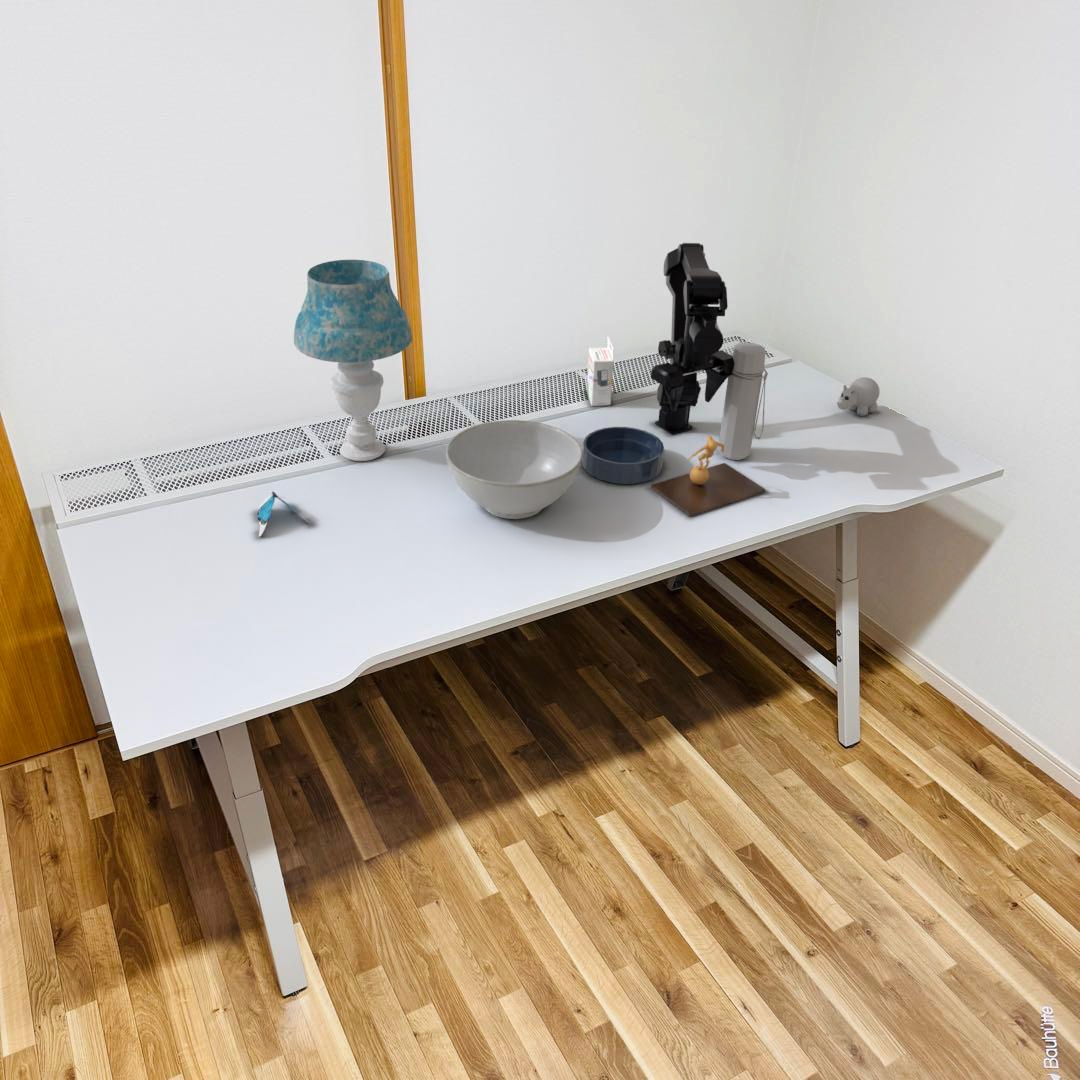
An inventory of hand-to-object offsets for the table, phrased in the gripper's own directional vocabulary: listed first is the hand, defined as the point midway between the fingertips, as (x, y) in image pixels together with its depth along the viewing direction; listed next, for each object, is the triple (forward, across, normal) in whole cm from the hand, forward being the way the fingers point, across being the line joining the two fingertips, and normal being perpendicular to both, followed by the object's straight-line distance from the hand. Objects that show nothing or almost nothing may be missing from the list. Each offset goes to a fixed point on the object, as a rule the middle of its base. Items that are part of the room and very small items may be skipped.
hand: (690, 405), depth 209 cm
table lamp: (+13, +60, -37) cm, 72 cm away
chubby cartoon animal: (+13, -51, +1) cm, 53 cm away
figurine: (+12, +5, +12) cm, 18 cm away
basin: (+13, +14, -4) cm, 19 cm away
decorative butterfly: (+13, +85, -19) cm, 88 cm away
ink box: (+13, -1, -35) cm, 37 cm away
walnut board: (+13, +4, +13) cm, 19 cm away
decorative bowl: (+13, +42, -2) cm, 44 cm away
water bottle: (+13, -12, +4) cm, 18 cm away
